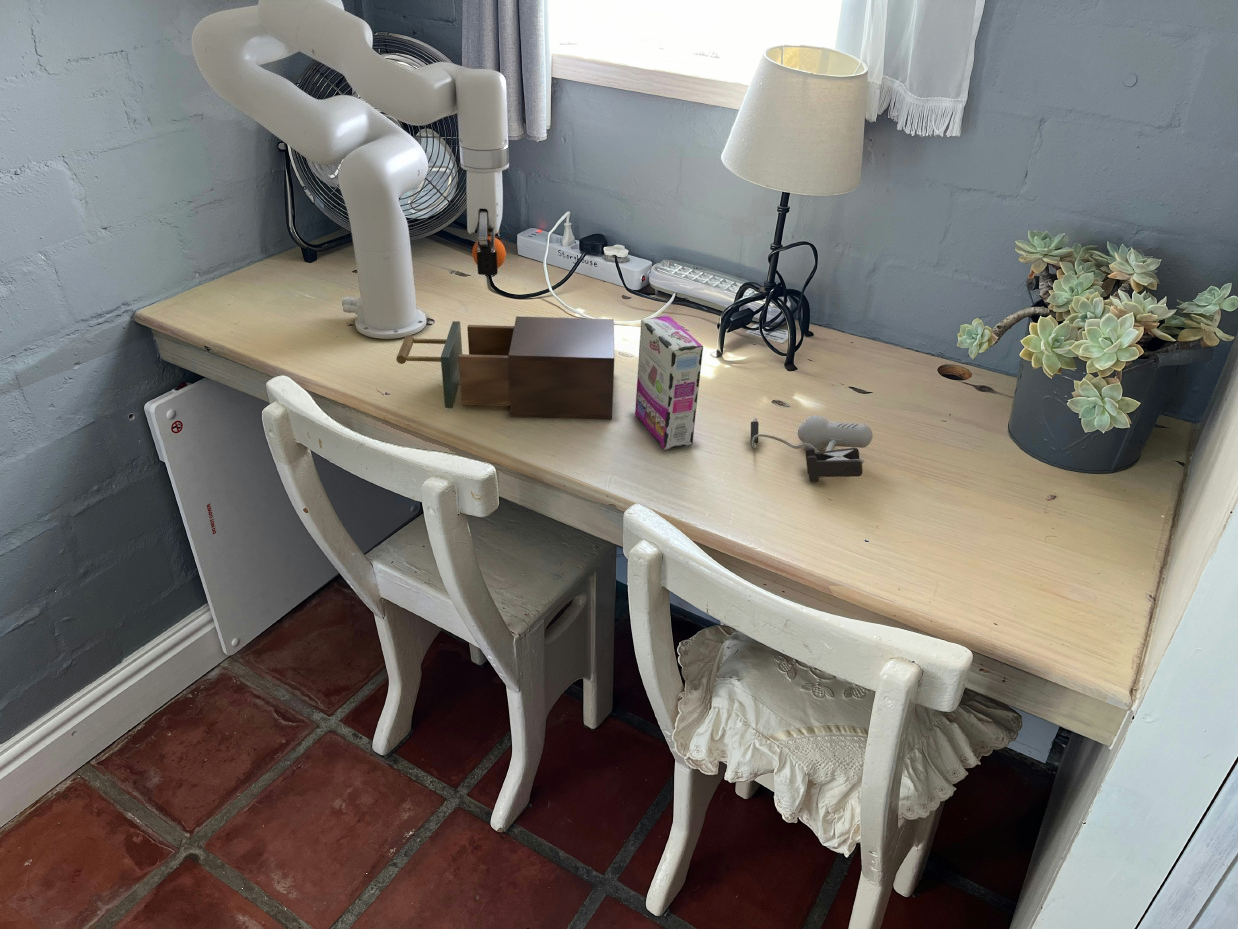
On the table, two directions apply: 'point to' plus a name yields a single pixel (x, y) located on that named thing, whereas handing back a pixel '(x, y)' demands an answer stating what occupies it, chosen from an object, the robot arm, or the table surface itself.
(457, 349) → the drawer
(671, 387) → the candy bar box
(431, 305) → the table surface
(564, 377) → the cabinet
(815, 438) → the clip-on lamp
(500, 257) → the ball
